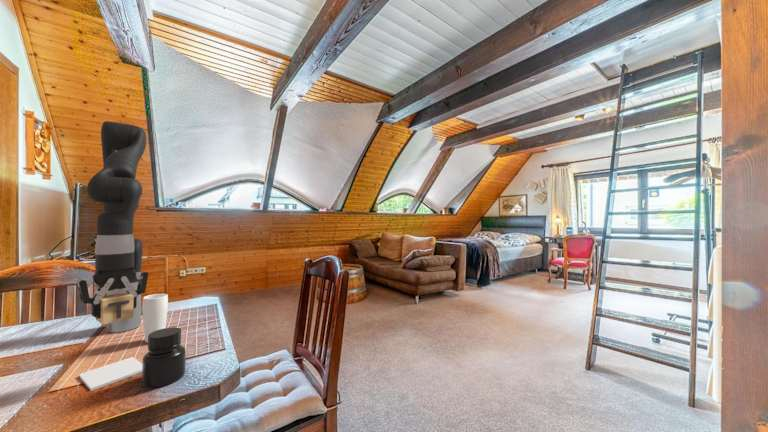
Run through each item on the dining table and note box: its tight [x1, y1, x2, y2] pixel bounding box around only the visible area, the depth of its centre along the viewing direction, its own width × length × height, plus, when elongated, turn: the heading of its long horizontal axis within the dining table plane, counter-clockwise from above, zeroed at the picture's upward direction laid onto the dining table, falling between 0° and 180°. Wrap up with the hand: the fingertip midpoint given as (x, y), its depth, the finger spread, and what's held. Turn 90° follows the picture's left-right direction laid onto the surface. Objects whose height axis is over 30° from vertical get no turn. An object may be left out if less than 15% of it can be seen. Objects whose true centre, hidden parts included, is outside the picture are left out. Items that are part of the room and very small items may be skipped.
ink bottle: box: [141, 326, 187, 389], centre depth 73 cm, size 10×9×12 cm
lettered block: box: [95, 292, 134, 325], centre depth 75 cm, size 6×7×6 cm
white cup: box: [141, 293, 169, 344], centre depth 95 cm, size 7×7×15 cm
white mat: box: [78, 356, 142, 392], centre depth 75 cm, size 11×11×1 cm
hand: (114, 313), depth 75 cm, fingers closed on lettered block, 6 cm apart
